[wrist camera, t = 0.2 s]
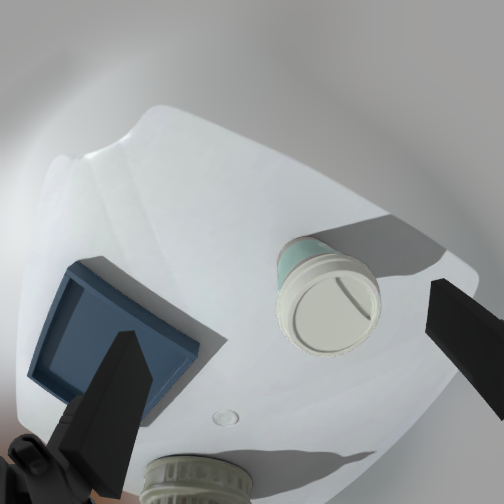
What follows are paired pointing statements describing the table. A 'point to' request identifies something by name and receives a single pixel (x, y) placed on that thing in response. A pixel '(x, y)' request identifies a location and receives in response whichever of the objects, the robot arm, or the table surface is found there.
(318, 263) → the coffee cup
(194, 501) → the dome
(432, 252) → the table surface
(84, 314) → the tray
